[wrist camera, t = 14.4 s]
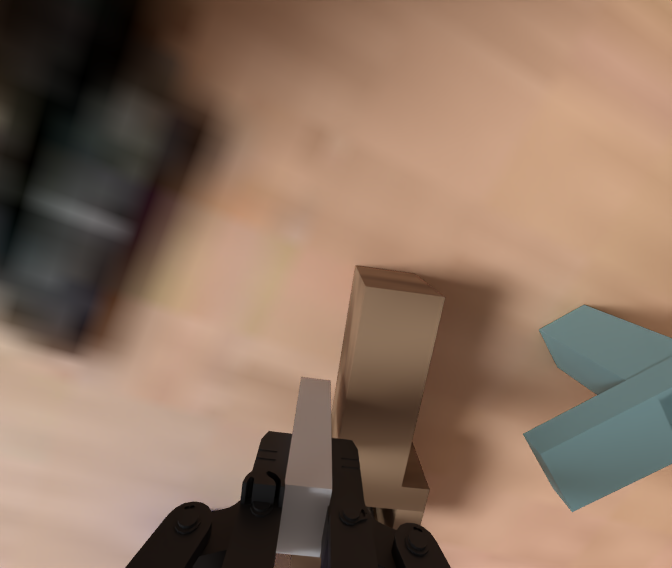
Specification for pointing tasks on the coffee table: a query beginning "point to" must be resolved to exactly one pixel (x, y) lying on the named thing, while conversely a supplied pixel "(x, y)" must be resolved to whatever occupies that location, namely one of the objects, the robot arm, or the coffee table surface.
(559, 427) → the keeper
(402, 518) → the link
